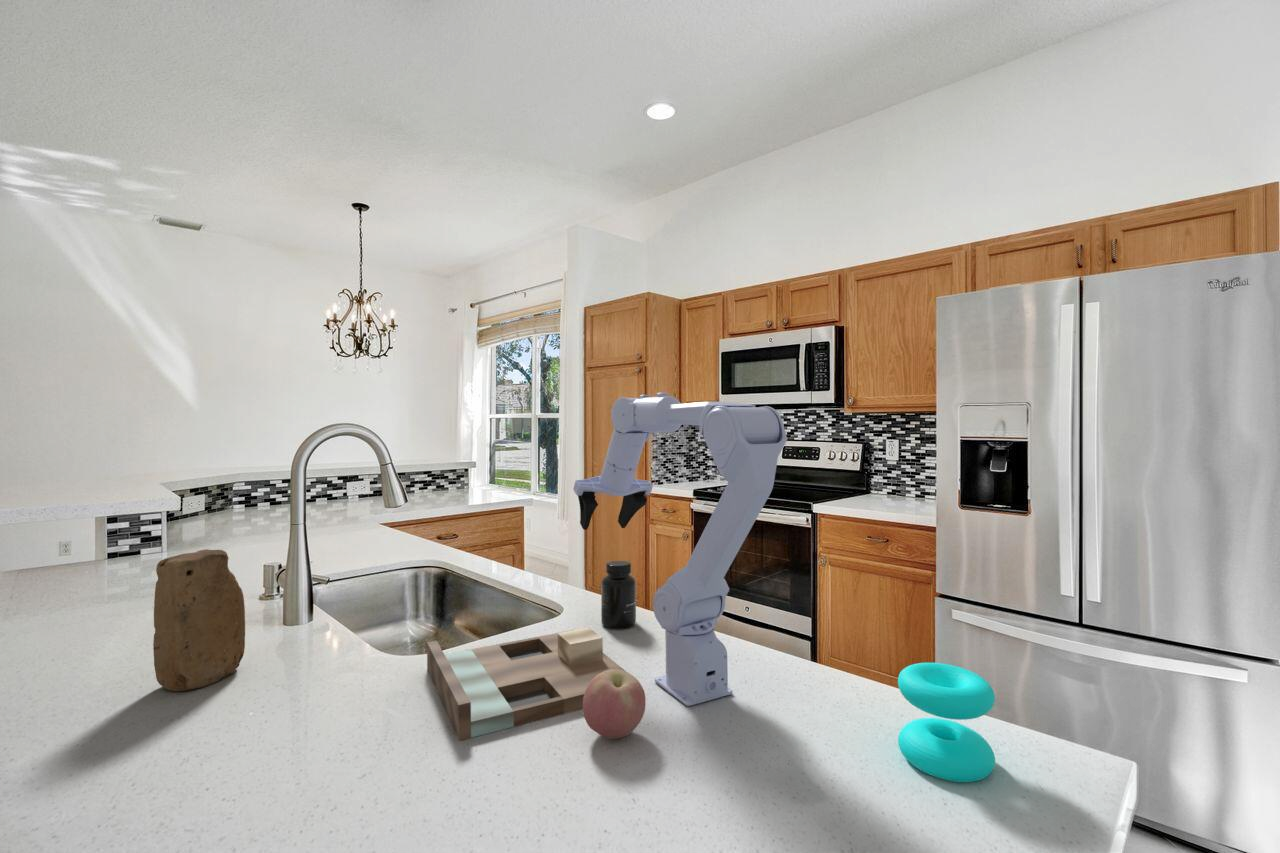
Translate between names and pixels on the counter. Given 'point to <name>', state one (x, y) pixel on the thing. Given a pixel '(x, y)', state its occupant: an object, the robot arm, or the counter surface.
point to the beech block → (580, 646)
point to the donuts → (946, 722)
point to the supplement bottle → (618, 596)
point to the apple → (614, 703)
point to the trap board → (508, 683)
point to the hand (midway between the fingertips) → (602, 525)
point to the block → (197, 620)
